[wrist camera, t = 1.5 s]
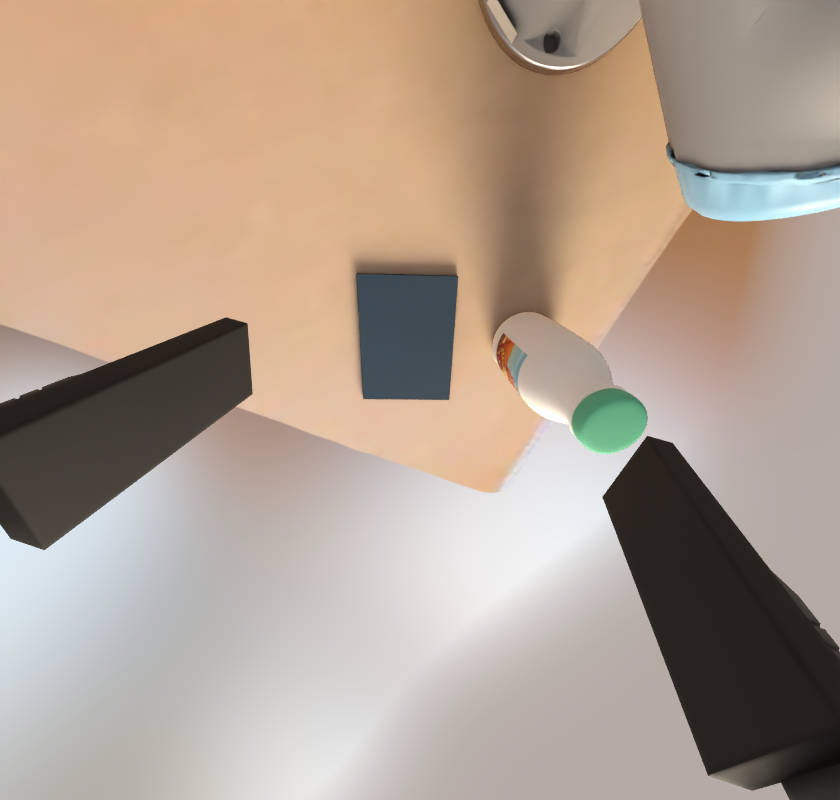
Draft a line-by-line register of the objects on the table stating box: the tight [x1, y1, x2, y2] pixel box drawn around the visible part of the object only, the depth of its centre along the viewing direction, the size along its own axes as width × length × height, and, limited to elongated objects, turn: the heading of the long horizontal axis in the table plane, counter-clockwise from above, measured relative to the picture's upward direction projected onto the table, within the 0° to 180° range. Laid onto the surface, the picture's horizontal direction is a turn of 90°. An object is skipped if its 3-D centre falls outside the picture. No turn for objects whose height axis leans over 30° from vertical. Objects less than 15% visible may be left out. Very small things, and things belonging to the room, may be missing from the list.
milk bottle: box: [492, 312, 648, 454], centre depth 31 cm, size 8×8×20 cm
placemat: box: [356, 273, 458, 400], centre depth 39 cm, size 15×11×1 cm
